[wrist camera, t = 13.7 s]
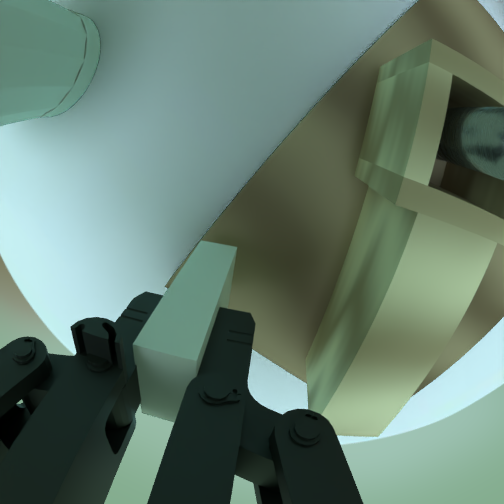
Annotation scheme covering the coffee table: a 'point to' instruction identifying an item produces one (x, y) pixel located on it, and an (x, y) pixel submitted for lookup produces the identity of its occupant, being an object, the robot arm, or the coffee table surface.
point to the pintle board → (340, 199)
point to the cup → (43, 59)
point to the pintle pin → (474, 139)
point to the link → (406, 245)
